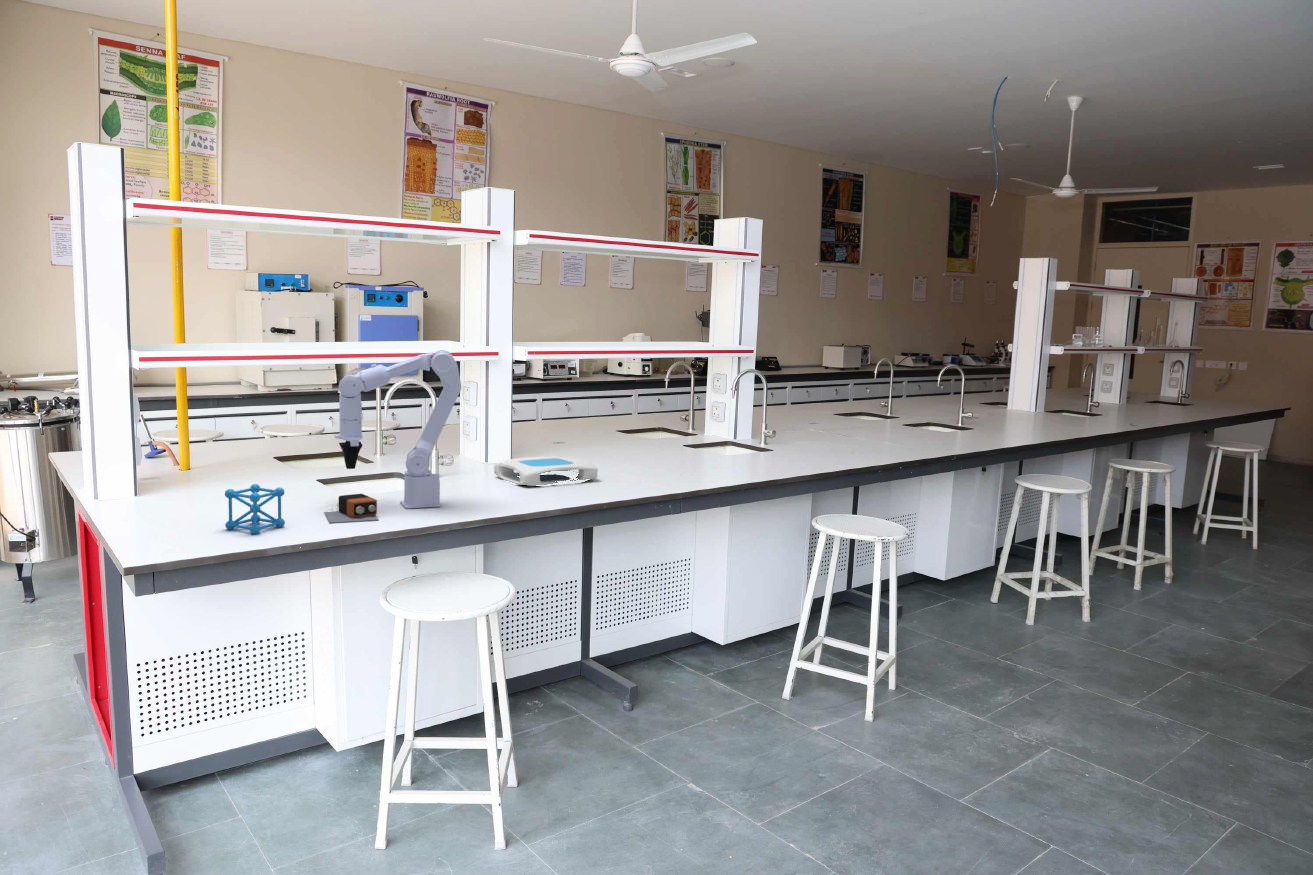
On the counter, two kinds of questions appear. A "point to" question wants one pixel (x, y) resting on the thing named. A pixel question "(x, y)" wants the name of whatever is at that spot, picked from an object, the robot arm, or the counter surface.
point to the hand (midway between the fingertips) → (350, 468)
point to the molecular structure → (254, 508)
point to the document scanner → (542, 469)
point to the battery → (357, 505)
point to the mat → (346, 517)
